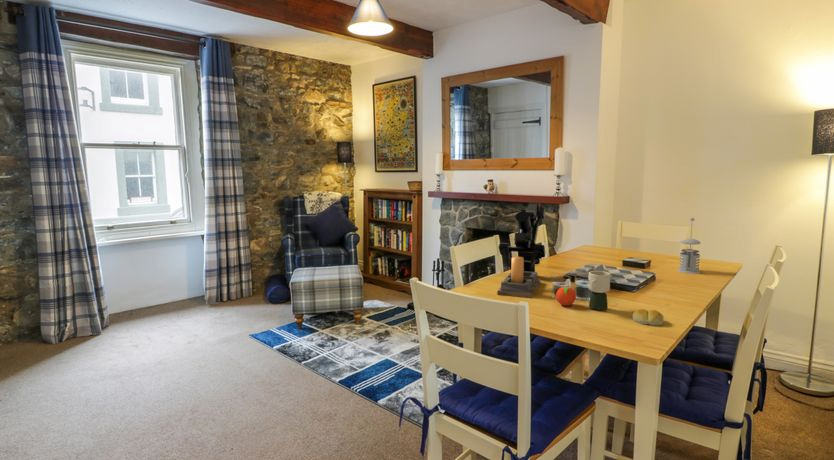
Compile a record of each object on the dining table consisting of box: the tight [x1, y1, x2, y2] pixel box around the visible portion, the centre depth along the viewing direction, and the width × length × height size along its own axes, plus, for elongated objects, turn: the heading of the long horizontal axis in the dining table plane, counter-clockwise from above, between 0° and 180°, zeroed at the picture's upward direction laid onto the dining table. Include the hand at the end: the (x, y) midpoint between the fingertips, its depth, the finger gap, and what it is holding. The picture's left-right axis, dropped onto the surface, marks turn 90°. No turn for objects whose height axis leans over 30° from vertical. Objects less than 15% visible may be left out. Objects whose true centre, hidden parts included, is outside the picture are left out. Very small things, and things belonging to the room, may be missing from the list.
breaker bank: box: [496, 271, 541, 299], centre depth 193 cm, size 25×13×6 cm, turn 157°
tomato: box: [555, 285, 577, 307], centre depth 168 cm, size 8×7×7 cm
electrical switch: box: [587, 263, 605, 275], centre depth 192 cm, size 9×5×9 cm, turn 141°
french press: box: [676, 217, 702, 275], centre depth 213 cm, size 10×12×25 cm
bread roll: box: [632, 308, 665, 327], centre depth 150 cm, size 8×9×4 cm
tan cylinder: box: [510, 256, 524, 284], centre depth 186 cm, size 5×5×12 cm
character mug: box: [587, 270, 611, 311], centre depth 163 cm, size 11×7×13 cm, turn 134°
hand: (519, 267), depth 190 cm, fingers open, 9 cm apart
